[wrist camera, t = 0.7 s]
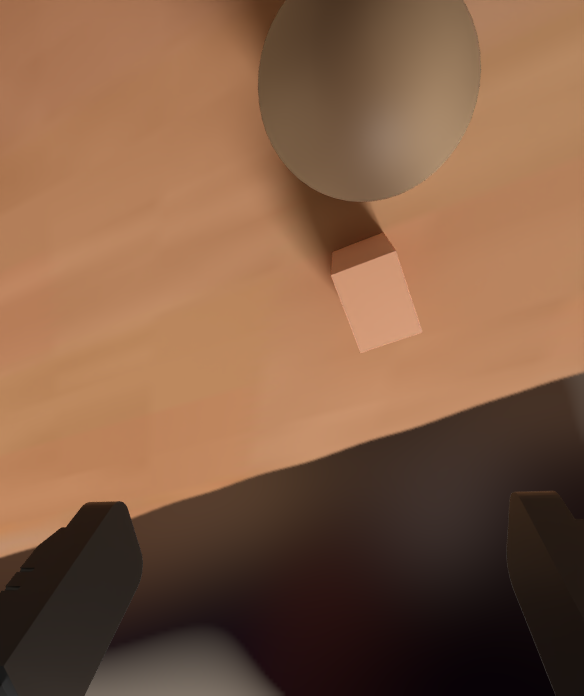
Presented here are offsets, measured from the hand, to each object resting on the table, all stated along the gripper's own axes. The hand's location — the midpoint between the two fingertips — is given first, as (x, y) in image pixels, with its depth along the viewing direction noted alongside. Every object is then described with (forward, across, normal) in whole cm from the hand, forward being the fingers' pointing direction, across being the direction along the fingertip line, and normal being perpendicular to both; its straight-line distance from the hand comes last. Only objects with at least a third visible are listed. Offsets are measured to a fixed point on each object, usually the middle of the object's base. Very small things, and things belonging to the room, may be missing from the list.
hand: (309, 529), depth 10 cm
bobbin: (+19, -2, -9) cm, 21 cm away
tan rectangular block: (+19, -2, -1) cm, 19 cm away
